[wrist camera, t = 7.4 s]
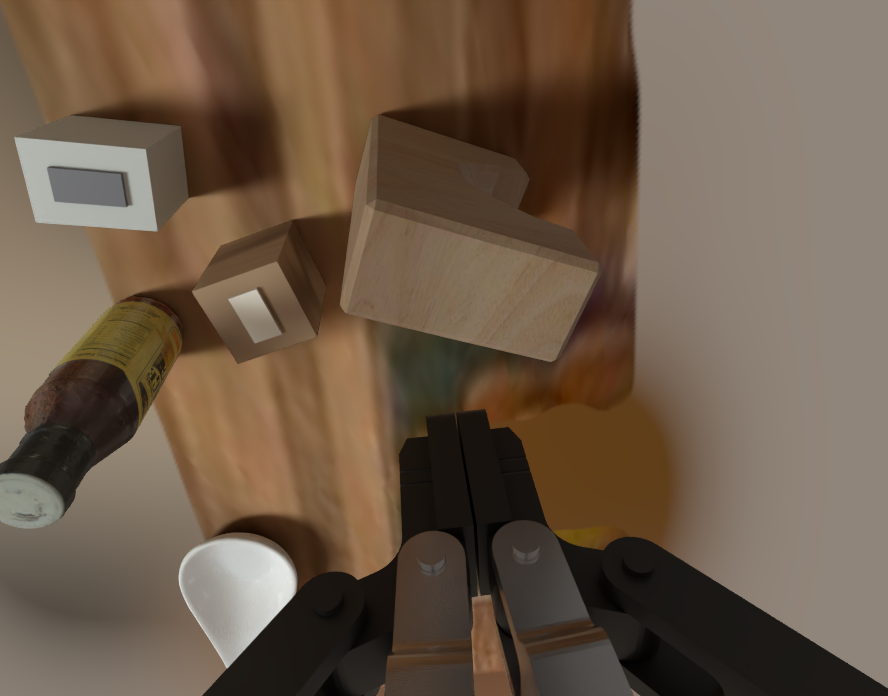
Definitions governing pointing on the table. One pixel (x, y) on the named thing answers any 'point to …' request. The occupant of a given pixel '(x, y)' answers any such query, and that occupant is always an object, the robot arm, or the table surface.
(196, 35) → the table surface
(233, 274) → the walnut marked block
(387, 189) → the decorative block
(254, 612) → the spoon rest
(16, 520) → the sauce bottle
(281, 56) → the table surface
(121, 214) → the grey marked block
